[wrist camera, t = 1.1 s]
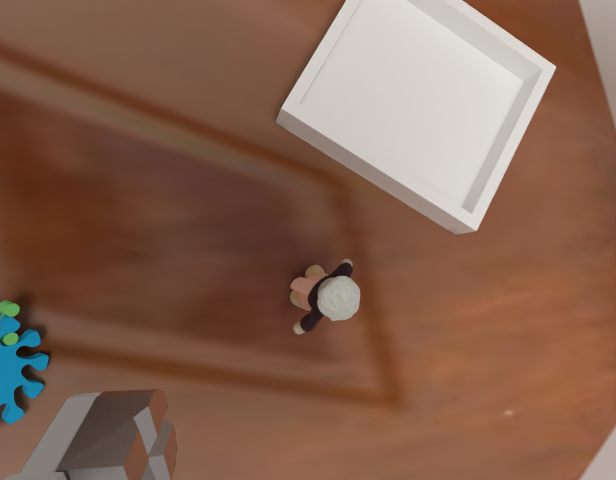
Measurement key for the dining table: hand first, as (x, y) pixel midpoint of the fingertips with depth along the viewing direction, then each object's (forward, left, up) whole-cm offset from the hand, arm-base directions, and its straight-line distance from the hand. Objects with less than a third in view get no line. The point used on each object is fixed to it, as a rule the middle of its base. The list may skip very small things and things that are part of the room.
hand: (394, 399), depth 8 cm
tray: (+5, +27, -37) cm, 46 cm away
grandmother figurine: (+5, +4, -37) cm, 37 cm away
